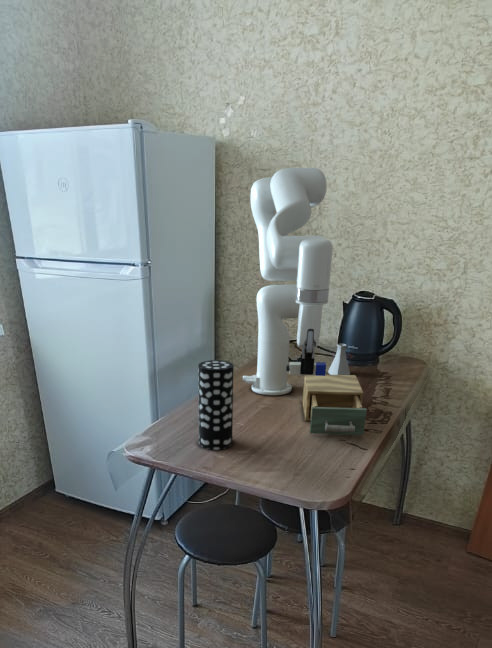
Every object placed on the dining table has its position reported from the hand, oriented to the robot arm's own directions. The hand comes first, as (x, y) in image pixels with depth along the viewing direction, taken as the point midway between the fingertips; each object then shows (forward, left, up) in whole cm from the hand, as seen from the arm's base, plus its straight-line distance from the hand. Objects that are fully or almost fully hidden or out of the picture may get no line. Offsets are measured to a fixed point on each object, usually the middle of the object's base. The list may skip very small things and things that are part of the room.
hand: (306, 371), depth 144 cm
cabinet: (+9, +15, -16) cm, 24 cm away
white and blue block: (0, 0, -1) cm, 1 cm away
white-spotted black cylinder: (-22, -10, -16) cm, 29 cm away
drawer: (+9, +1, -15) cm, 17 cm away
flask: (+15, +53, -16) cm, 58 cm away
